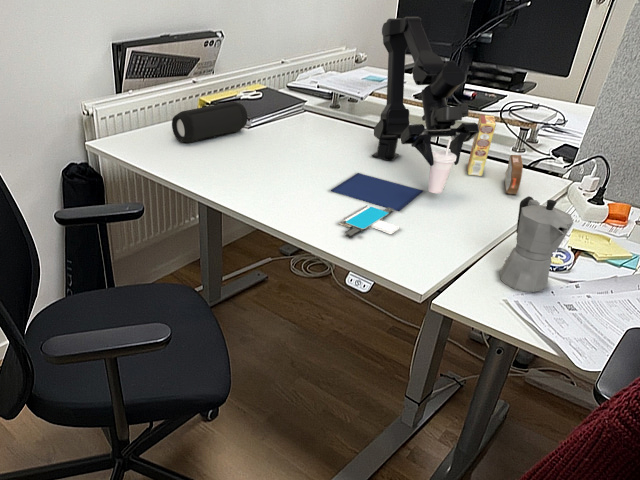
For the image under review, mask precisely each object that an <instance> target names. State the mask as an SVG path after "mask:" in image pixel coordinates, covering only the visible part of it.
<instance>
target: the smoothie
mask: <svg viewBox="0 0 640 480" xmlns="http://www.w3.org/2000/svg"><path fill="white" fill-rule="evenodd" d="M451 141H452V140H451V137H449V138H448V141H447V145H446V149H445V150H434V151H432V154H433V160H434V164H433V165H432V166H430V165H429V175H428V184H427V185H428V186H427V191H428V192H430V193H432V194H442V193H443V191H444V189H445V186H446V185H447V181H448V178H449V176H450V173H451V171H452V168H453V166H454V165H455V164H454V162H455V161H456V158H457V156H456V155H455V154H453V153H451V151H449V150H450V147H449V146H450V142H451Z"/></svg>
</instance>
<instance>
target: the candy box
mask: <svg viewBox="0 0 640 480" xmlns="http://www.w3.org/2000/svg"><path fill="white" fill-rule="evenodd" d="M477 124H478V127H479V133H477V134H476V135H475V136H474V137H473V140H472V145H471V149H470V154H469V157H468V160H467V161H468V162H467V175H468V176H476V177H482V176H483V174H484V171H485V166H486V163H487V160H488V156H489V152H490V149H491V146H492V145H491V144H492V141H493V137H494V133H495V130H496V127H497V123H496V118H495V116H494V115H485V114H479V117H478V121H477Z"/></svg>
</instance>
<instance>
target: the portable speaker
mask: <svg viewBox="0 0 640 480" xmlns="http://www.w3.org/2000/svg"><path fill="white" fill-rule="evenodd" d="M247 124H248V113H247V109H246V107H245V106H244V105H243V104H242V103H240V102H237V101H229V102H224V103H223V102H222V103H218V104H213V105H207V106H203V107H198V108H192V109H187V110H182V111H179V112H178V113H176V114H175V115H174V116H172V119H171V130H172V134H173V135H174V138H175V139H176V140H177V141H179V142H181V143H186V144H190V143H195V142H199V141H200V142H201V141H204V140H208V139H213V138H217V137H221V136H226V135H230V134H234V133H236V132H237V133H238V132H239V131H241V130H242V129H243V128H245V127H246V125H247Z"/></svg>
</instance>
